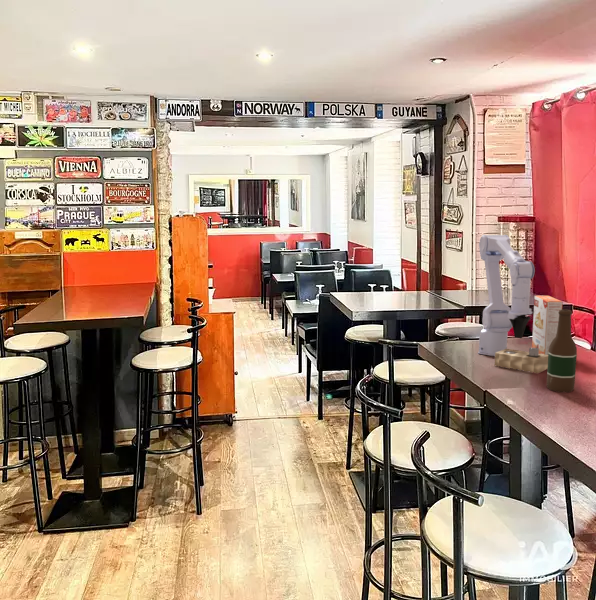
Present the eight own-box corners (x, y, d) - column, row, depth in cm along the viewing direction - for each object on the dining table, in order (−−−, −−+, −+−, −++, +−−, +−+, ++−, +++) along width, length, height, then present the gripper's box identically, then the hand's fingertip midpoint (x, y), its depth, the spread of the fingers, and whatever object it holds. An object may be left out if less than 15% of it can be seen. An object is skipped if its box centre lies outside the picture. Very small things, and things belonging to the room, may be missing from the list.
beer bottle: (573, 386, 198) (578, 308, 194) (575, 394, 191) (580, 312, 187) (545, 384, 200) (550, 307, 197) (546, 391, 193) (551, 311, 189)
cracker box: (530, 349, 248) (533, 295, 245) (546, 349, 248) (550, 295, 245) (543, 358, 234) (546, 300, 231) (560, 358, 234) (563, 300, 231)
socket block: (494, 365, 223) (495, 352, 222) (505, 361, 230) (506, 348, 229) (537, 373, 213) (538, 359, 213) (548, 368, 220) (549, 355, 219)
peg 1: (503, 365, 224) (504, 352, 223) (507, 363, 226) (508, 350, 226) (512, 366, 222) (512, 353, 221) (515, 365, 224) (516, 352, 224)
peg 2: (527, 361, 218) (527, 348, 218) (530, 360, 221) (531, 347, 220) (535, 363, 216) (536, 350, 216) (539, 361, 219) (540, 348, 218)
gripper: (523, 301, 211) (521, 342, 213) (541, 296, 222) (538, 336, 224) (502, 299, 216) (500, 339, 218) (520, 294, 226) (518, 333, 228)
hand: (518, 337), depth 221 cm, fingers closed
